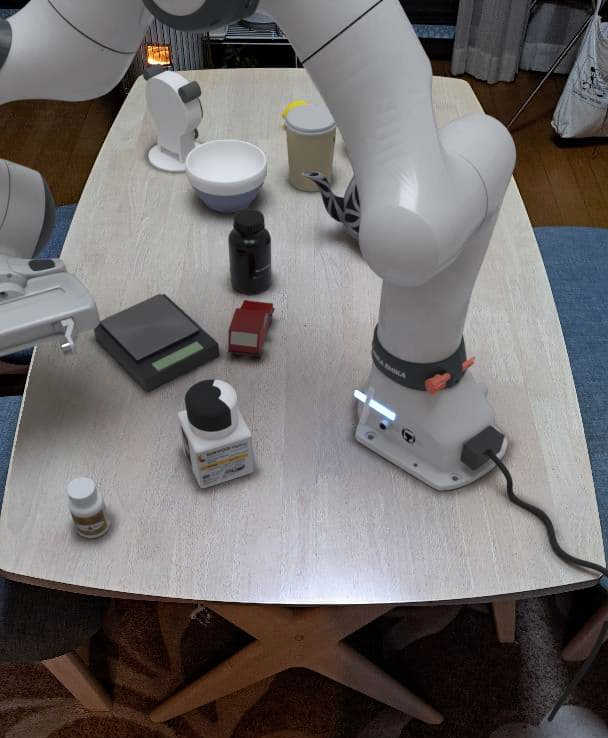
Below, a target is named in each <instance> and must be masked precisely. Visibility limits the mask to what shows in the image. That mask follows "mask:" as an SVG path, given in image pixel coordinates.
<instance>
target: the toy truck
mask: <svg viewBox="0 0 608 738" xmlns="http://www.w3.org/2000/svg"><path fill="white" fill-rule="evenodd" d="M274 312H275V307H274V303H272V302H263V301H256V300H248V299H243V301H242V303H241V306H240V308H238V307H236V308H235V309H234V313H233V316H232V319H231V321H230V324H229V327H228V340H227V341H228V342H227V348H228V350H227V352H228V354H230V355H234V356H237V355H242V356H243V355H244V356H252V357H253V358H258V359H261V358H262V354H263V348H264V344H265V340H266V338H267V334H268V332H269V331H268V330H269V327H270V326H271V325H272V321H273V315H274Z"/></svg>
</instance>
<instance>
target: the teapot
mask: <svg viewBox="0 0 608 738" xmlns="http://www.w3.org/2000/svg"><path fill="white" fill-rule="evenodd" d="M302 175H303V176H305V177H307V178H309V179H311V180H313V181H314V182H315V183H316V184H317V186H318V188H319V193H320V196H321V200H322V203H323V206H324V209H325V211H326V212H327V214H328V215H329V216H330V217H331V218H332V219H333V220H334V221H335V222H338V223H341V224H343V226H344V228H345V230H346V232H347V233H348V235H350V237H351V238H352V239H353V240H354V241H356V242H357V243H358V244H359V228H360V201H359V195H358V190H357V185H356V181H355V177H354V174H353V175H352V177H351V179H350V180H349V182H348V185H347V187H346V190H345V192H344V195H343V196H338V195H337V194H335V193H334V192H333V190H332V188H331V185H330V184H329V182H328V180H327V178H326V177H325V176H324V175H323V174H321V173H319V172H304V173H302Z"/></svg>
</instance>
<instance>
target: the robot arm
mask: <svg viewBox="0 0 608 738" xmlns="http://www.w3.org/2000/svg"><path fill="white" fill-rule="evenodd" d="M255 13H258V14H262V15H264V16H266V17H268V18H269V19H271V20H272V21H273V22H274V24H276V25H277V26H278V27H279V29H280V31H281V32H282V33H283V35H284V36H285V38H286V39H287V41H288V43H289V44H290V45H291V48H292V49H293V51H294V53H295V54H296V56H297V58H298V60H299V62H300V63H302V67H303V68H304V70H305V72H306V74H307V75H308V77H309V79H310V81H311V82H312V84H313V86H314V87H315V89H316V91H317V93H318V94H319V96H320V98H321V100H322V102H323V104H324V106H325V107H327V109H328V110H329V112H330V114H331V116H332V118H333V119H334V121H335V123H336V125H337V127H336V128H337V130H338V131H339V134H340V136H341V139H342V142H343V143H344V146H345V149H346V151H347V155H348V158H349V161H350V165H351V169H352V172H353V175H354V177H355V181H356V185H357V190H358V195H359V201H360V228H359V243H358V245H359V249H360V252H361V256H362V258H363V259H364V261H365V263H366V264H367V266H368V267H369V268H370V270H371V271H372V272H373V273H374V274H375V275H376V276H378V277H379V278H380V279H381V280H382V282H381V289H380V290H381V291H380V299H379V300H380V301H379V309H378V318H377V322H376V325H375V327H374V330H373V337H372V340H371V344H370V345H371V353H370V354H371V359H372V361H371V362H372V363H371V367H370V371H369V375H368V379H367V382H366V385H365V388H364V390H363V392H361V391H359V390H357V389H356V390H354V397H355V398H357V399H358V403H357V409H356V411H357V417H358V424H357V427H356V430H355V434H354V439H355V440H356V441H357V442H358V443H359V444H361V445H363V446H364V447H366V448H368V449H369V450H371V451H373V452H374V453H376V454H377V455H379V456H381V457H382V458H384V459H386V461H388V462H390V463H392V464H393V465H395V466H397V467H398V468H400V469H401V470H403V471H404V472H406V473H408V474H410V475H411V476H413V477H414V478H416V479H418V480H419V481H421V482H422V483H424V484H426V485H428V486H429V487H431V488H432V489H434V490H436V491H451V490H455V489H459V488H462V487H465V486H467V485H469V484H472V483H474V482H475V481H477V480H479V479H481V478H483V476H485V475H486V474H487V473H489V472H490V471H492V470H493V469H494V468H495V467H496V466H497V467H498V469H500V471H501V472H502V474H503V476H504V478H505V482H506V494H507V496H508V498H509V499H510V500H511V501H512V502H513V503H514V504H515V505H517V506H518V507H521V508H522V509H524V510H527V511H529V512H532V513H534V515H535V514H536V515H537V516H538V517H540V519H542V521H543V522H544V524H545V527H546V530H547V533H548V538H549V542H550V545H551V547H552V548H553V550H554V551H555V553H556V554H557V555H558V556H560V557H561V558H562V559H563V560H565V561H567V562H569V563H571V564H573V565H576V566H580V567H583V568H587V569H590V570H594V571H596V572H598V573H601V574H602V575H603V576H605V577H606V578H607V579H608V569H607V568H606V567H604V566H602V565H600V564H598V563H595V562H592V561H588V560H585V559H581V558H578V557H575V556H574V555H571V554H569V553H567V552H566V551H565V550H563V548H562V547H561V546H560V544H559V543H558V540H557V537H556V532H555V528H554V524H553V523H552V520H551V519H550V517H549V515H547V513H546V512H545V511H543V510H542V509H540V508H539V507H537V506H534V505H532V504H530V503H528V502H526V501H523V500H522V499H521V498H519V497H517V495H516V494H515V493H514V490H513V489H514V488H513V487H514V482H513V481H514V480H513V477H512V475H511V473H510V471H509V469H508V468H507V466H506V465H505V464H504V462H503V461H502V459H503V458H504V456H505V454H506V452H507V449H508V445H509V441H508V438H507V437H506V435H505V434H503V433H502V431H501V430H500V429H499V428H498V427H497V426H496V415H495V411H494V408H493V406H492V405H491V403H490V401H489V400H488V398H487V396H488V394H489V393H488V388H487V386H486V385H485V384H484V382H478V381H477V380H476V378H475V376H474V375H473V373H472V372H471V370H470V369H469V368H471V367H472V366H473V365H474V364H475V360H476V356H472V357H470V358H468V359H467V351H466V344H465V337H464V329H465V325H466V319H467V315H468V311H469V307H470V303H471V299H472V294H473V290H474V287H475V284H476V282H477V279H478V276H479V273H480V270H481V268H482V265H483V263H484V259H485V257H486V254H487V251H488V249H489V245H490V242H491V240H492V236H493V234H494V230H495V227H496V224H497V221H498V219H499V215H500V212H501V209H502V205H503V202H504V199H505V196H506V192H507V190H508V187H509V185H510V182H511V179H512V177H513V174H514V170H515V167H516V162H517V151H516V146H515V142H514V139H513V136H512V134H511V133H510V131H509V130H508V129H507V128H506V126H505V125H504V124H503V123H501V121H500V120H498V119H496V118H495V117H493V116H491V115H488V114H485V113H477V112H473V113H467V114H464V115H462V116H459V117H458V118H455V119H453V120H451V121H449V122H446V123H445V124H443V125H442V126H439V127H438V124H437V119H436V115H435V111H434V103H433V94H432V93H433V91H432V89H433V79H434V77H433V69H432V64H431V60H430V58H429V56H428V55H427V53H426V51H425V49H424V47H423V46H422V44H421V41H420V39H419V38H418V35H417V34H416V31H415V29H414V28H413V25H412V23H411V22H410V20H409V18H408V16H407V14H406V12H405V10H404V8H403V6H402V5H401V3H400V1H399V0H30V1H28V2H27V4H25V6H23V7H22V8H21V9H19V11H17V12H16V13H14V14H13V15H11V16H9V17H7V18H6V19H0V106H1V105H4V104H6V103H10V102H15V101H23V100H51V101H62V102H63V101H64V102H84V101H89V100H93V99H98V98H100V97H102V96H105V95H107V94H108V93H109V92H111V91H112V90H113V89H114V88H115V87H116V86H117V85H118V84H119V83H120V82H121V80H122V79H123V78H124V76H125V75H126V73H127V71H128V69H129V68H130V66H131V65H132V62H133V60H134V58H135V56H136V54H137V52H138V51H139V48H140V46H141V44H142V42H143V40H144V38H145V36H146V34H147V31H148V30H149V28H150V26H151V24H152V23H153V21H154V20H155V19H156V20H157V21H158V22H160V23H161V24H163V25H164V26H166V27H168V28H169V29H172V30H174V31H177V32H181V33H187V34H204V33H209V32H213V31H216V30H219V29H221V28H224V27H227V26H230V25H234V24H236V23H238V22H240V21H241V20H244V19H247V18H250V17H252V16H253V15H254V14H255ZM315 52H316V53H315ZM55 222H56V206H55V201H54V198H53V195H52V192H51V189H50V186H49V184H48V182H47V180H46V179H45V177H44V176H43V175H42V174H41V172H40V171H38V170H35V169H33V168H30V167H27V166H25V165H22V164H19V163H15V162H13V161H10V160H6V159H4V158H0V358H1V357H4V356H8V355H11V354H14V353H18V352H21V351H24V350H28V349H32V348H34V347H37V346H42V345H44V344H48V343H51V342H54V341H58V342H59V345H60V349H61V351H62V354H63V355H64V356H63V357H64V358H67V357H70V356H74V355H77V354H78V352H77V349H76V346H75V345H76V342H77V340H78V338H79V336H78V334H81V333H84V332H89V331H92V330H94V329H95V328H96V327H97V326H98V324H100V321H101V319H100V315H99V310H98V305H97V303H96V301H95V299H94V297H93V295H92V294H91V291H90V290H89V289H88V288H87V286H86V285H85V283H83V281H82V280H81V279H80V278H79V277H78V276H77V275H75V274H73V273H71V272H69V271H68V269H67V267H66V264H65V262H64V261H63V259H61V258H57V257H54V258H53V257H52V258H37V257H38V256H39V255H40V254H41V252H42V251H43V250H44V249H45V247H46V246H47V244H48V242H49V241H50V239H51V236H52V233H53V231H54V226H55ZM607 632H608V620H604V621H603V623H602V626H601V629H600V630H599V634H598V636H597V638H596V641H595V643H594V645H593V647H592V649H591V651H590V653H589V654H588V656H587V657H586V660H585V661H584V663H583V664H582V665H581V667H580V668H579V671H578V672H577V673H576V675H574V677H573V679H572V680H571V682H570V683H569V685H568V686H567V687H566V689H565V690H564V691H563V693H562V695H561V696H560V698H559V699H558V700H557V702H556V704H555V705H554V707H553V708H552V710H551V711H550V713H549V715H548V716H547V722H548V723H551V722H552V721H553V720H554V719H555V717H556V715H557V713H558V712H559V711H560V709H561V707H562V706H563V704H564V703H565V701H566V700H567V699H568V697H569V696H570V695H571V693H572V692H573V690H574V689H575V687H576V686H577V685H578V684H579V682H580V681H581V679H582V677H584V675H585V673H586V672H587V670H589V667H590V666H591V664H592V662H593V661H594V659H595V657H597V654H598V652H599V650H600V648H601V646H602V645H603V642H604V640H605V638H606V635H607Z"/></svg>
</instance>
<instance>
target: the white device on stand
mask: <svg viewBox="0 0 608 738" xmlns="http://www.w3.org/2000/svg"><path fill="white" fill-rule="evenodd" d="M164 70H165V69H164V67H163V65H162V64H161V63H157V64H154V65H151V66H150V67H148V68H146V69H144V70H142V76H143V79H144V81H146V83H145V101H146V105H147V108H148V111H149V113H150V115H151V117H152V119H153V120H154V123H155V129H156V138H157V144H156V145H154V146H153V147H152V148H151V149H149V152H148V161H149V163H150V164H151V165H152V166H153V167H154V168H156V169H158V170H160V171H164V172H167V173H169V172H170V173H183V172H186V170H185V161H186V157H187V155H188V154H189V153H190V152H191V151H192V150H193V149H194V148H196V147H197V146H199V145H201V144H202V143H200V142H198V141H196V140H197V139H198V138H199V137H200V135H199V130H198V127H199V126H200V124H201V122H202V119H203V117H204V111H203V105H202V102H201V100H200V97H201V96H202V89H201V86H200V84H199V82H198V81H196V80H193V81H188V80H187V79H186V78H185V77H184V76H182V75H181V74H179V73H177V72H175V71H172V70H165V71H164Z"/></svg>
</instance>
